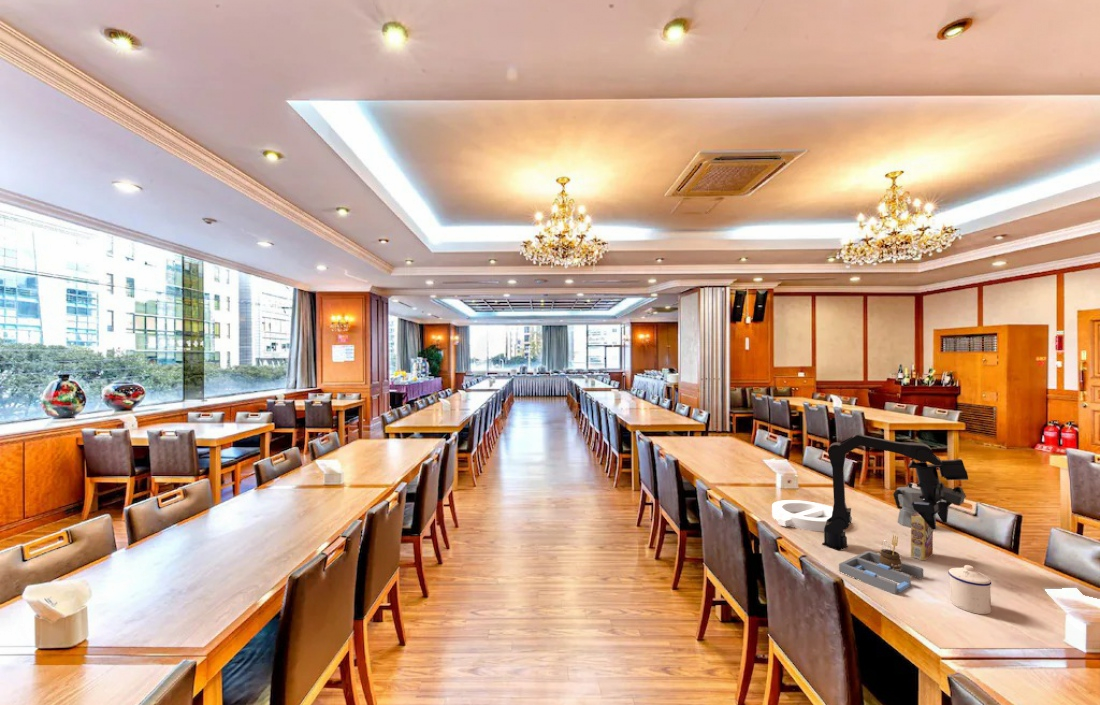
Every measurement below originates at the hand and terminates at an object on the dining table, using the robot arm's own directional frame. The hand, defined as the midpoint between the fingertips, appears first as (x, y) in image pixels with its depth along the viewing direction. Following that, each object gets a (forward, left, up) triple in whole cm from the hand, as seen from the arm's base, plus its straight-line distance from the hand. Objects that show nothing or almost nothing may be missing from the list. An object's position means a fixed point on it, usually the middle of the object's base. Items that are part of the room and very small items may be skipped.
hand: (939, 525), depth 151 cm
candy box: (-7, +6, -15) cm, 17 cm away
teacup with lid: (+13, -21, -15) cm, 29 cm away
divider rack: (-7, -23, -14) cm, 28 cm away
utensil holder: (-7, -19, -15) cm, 25 cm away
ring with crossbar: (-50, +7, -15) cm, 52 cm away
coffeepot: (-23, +38, -15) cm, 47 cm away
